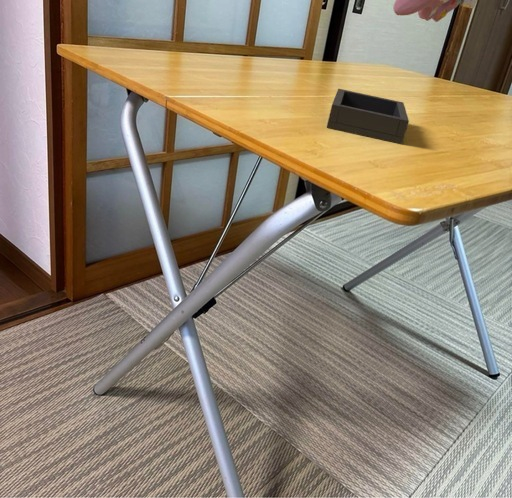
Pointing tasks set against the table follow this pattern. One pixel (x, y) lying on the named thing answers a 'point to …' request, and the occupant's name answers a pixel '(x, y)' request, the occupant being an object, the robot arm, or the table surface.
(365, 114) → the open box
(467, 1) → the robot arm
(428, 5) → the video game controller
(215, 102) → the table surface
